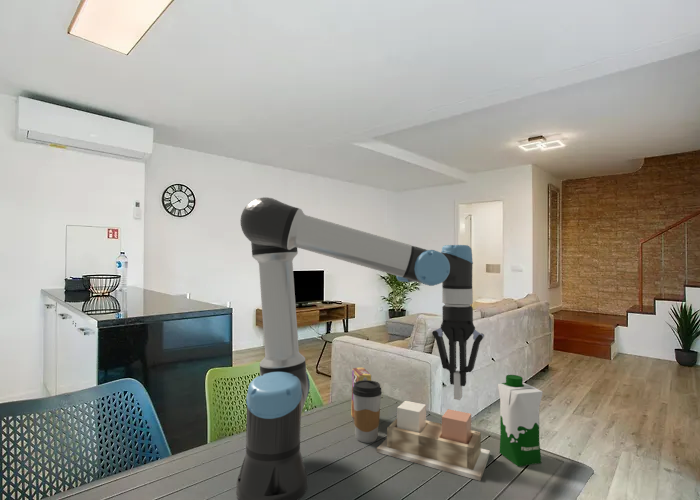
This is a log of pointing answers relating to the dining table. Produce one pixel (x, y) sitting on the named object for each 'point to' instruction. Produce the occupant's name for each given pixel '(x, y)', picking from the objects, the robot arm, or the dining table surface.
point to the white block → (411, 416)
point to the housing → (436, 450)
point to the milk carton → (519, 421)
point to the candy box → (358, 375)
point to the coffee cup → (366, 410)
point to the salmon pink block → (456, 426)
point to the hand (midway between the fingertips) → (458, 397)
